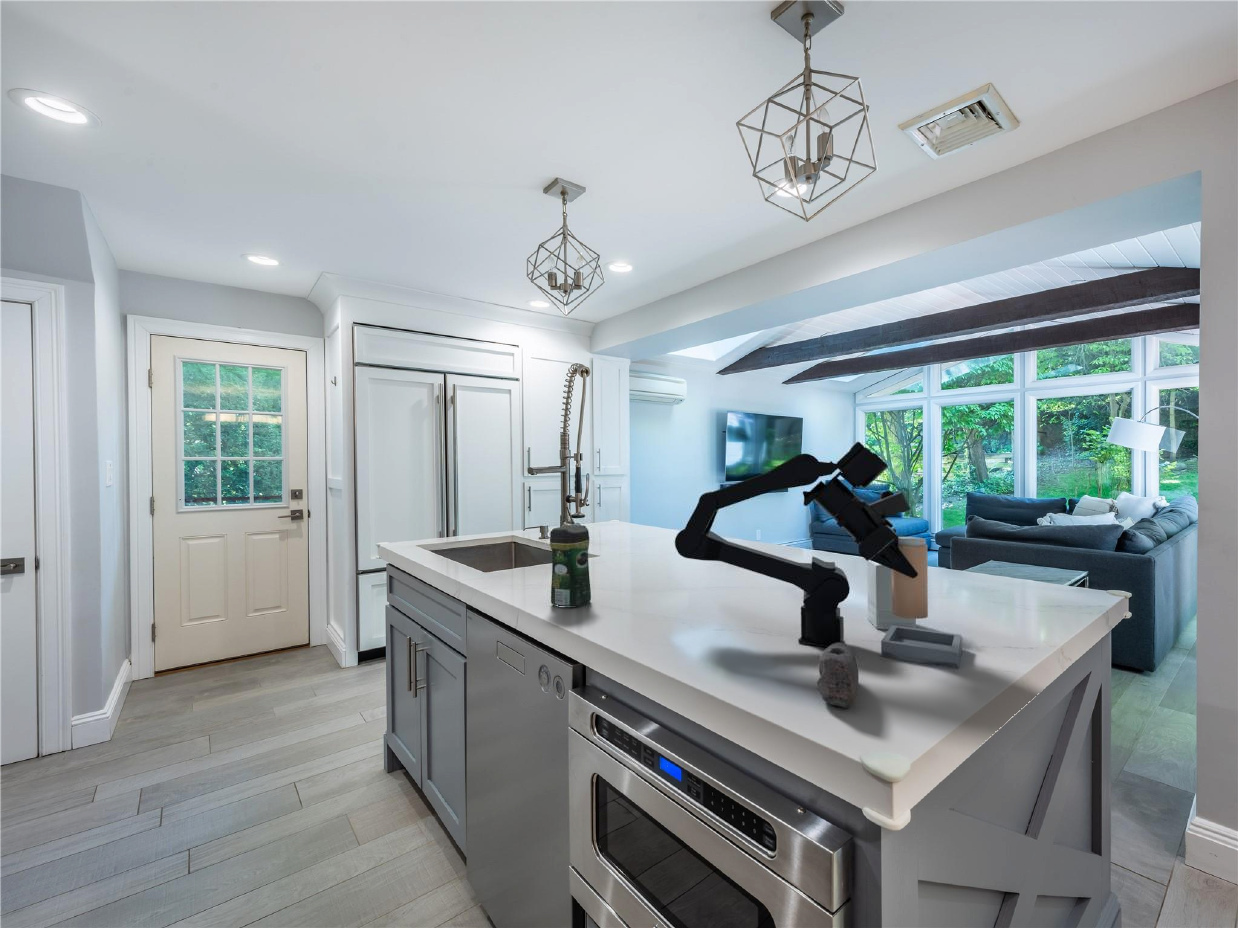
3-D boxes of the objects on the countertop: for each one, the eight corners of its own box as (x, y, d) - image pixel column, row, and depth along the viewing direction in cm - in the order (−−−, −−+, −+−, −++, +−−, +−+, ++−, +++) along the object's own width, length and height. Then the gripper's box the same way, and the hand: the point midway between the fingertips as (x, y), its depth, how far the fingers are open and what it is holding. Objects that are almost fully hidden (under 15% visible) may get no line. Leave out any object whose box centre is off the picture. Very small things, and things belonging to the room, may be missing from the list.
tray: (881, 655, 94) (881, 641, 94) (891, 638, 103) (891, 625, 103) (957, 668, 88) (957, 652, 88) (961, 649, 97) (961, 634, 97)
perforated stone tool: (825, 672, 87) (824, 628, 87) (862, 677, 85) (861, 632, 85) (813, 711, 73) (813, 658, 73) (857, 719, 71) (856, 664, 71)
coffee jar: (569, 597, 138) (568, 522, 138) (596, 601, 134) (595, 524, 134) (544, 606, 130) (543, 526, 130) (571, 610, 126) (570, 528, 126)
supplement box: (917, 631, 107) (916, 565, 107) (875, 629, 109) (874, 564, 109) (905, 620, 114) (904, 559, 114) (866, 619, 116) (865, 558, 116)
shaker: (899, 618, 93) (899, 540, 93) (886, 609, 99) (886, 536, 99) (934, 618, 93) (933, 540, 93) (918, 610, 98) (918, 536, 99)
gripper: (880, 476, 89) (961, 549, 85) (878, 474, 106) (946, 535, 102) (828, 524, 93) (903, 596, 88) (834, 514, 110) (898, 574, 105)
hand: (914, 573), depth 96 cm, fingers closed on shaker, 5 cm apart
